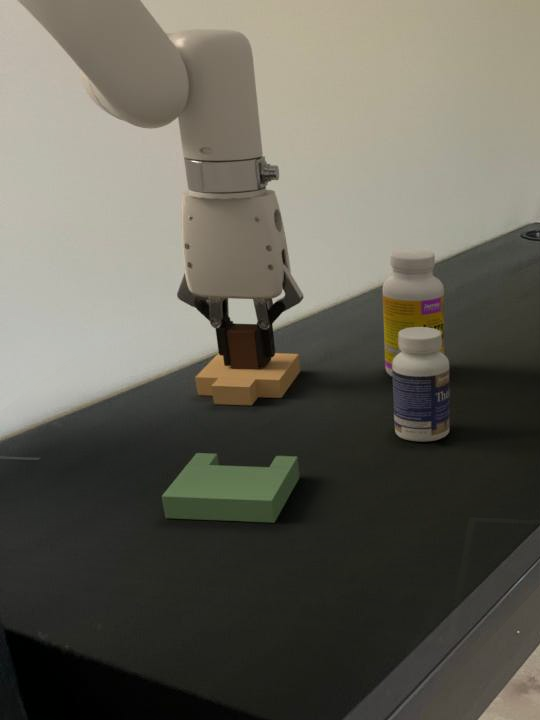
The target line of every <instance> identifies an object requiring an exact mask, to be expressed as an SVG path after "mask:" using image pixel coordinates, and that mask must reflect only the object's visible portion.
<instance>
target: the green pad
mask: <svg viewBox="0 0 540 720" xmlns="http://www.w3.org/2000/svg"><path fill="white" fill-rule="evenodd" d="M299 469H300V467H299V457H298V456H295V455H292V456H291V455H289V456H288V455H276V456H275V457H274V459H273V460H272V462H271V464H270V465H269V467H268V466H248V465H247V466H244V465H220V463H219V455H218V453H207V452H206V453H205V452H196V453H195V454H194V456H193V457H192V458H191V459H190V461H189V462H188V463H187V464H186V465H185V467H183V469H182V470H181V472H179V474H178V475H177V477H176V478H175V479H174V480H173V482H172V483H171V484H170V485H169V486H168V488H167V489H166V490H165V491H164V492H163V494H162V495H161V501H162V506H163V511H164V515H165V519H174V520H195V521H196V520H197V521H221V522H222V521H224V522H245V523H246V522H249V523H269V524H270V523H272V524H274V523H276V521H277V519H278V517H279V516H280V513H281V512H282V510H283V508H284V507H285V505H286V503H287V501H288V499H289V497H290V495H291V494H292V492H293V490H294V489H295V487H296V485H297V483H298V481H299V480H300V478H301V477H300V470H299Z"/></svg>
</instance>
